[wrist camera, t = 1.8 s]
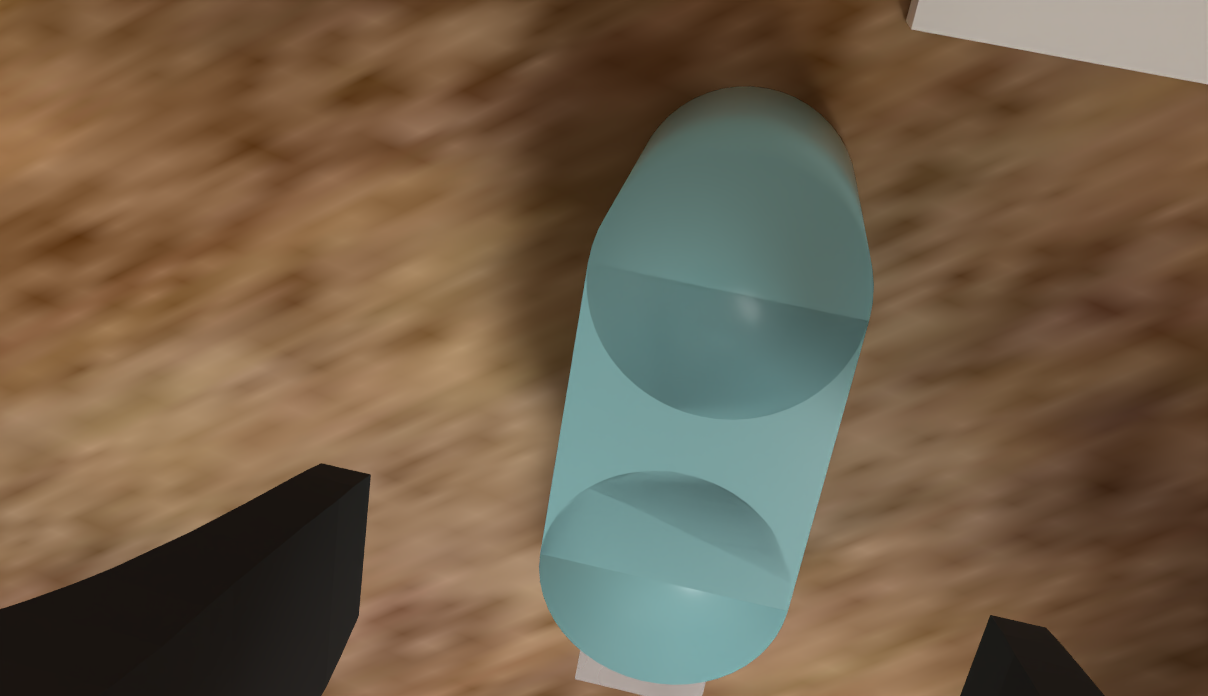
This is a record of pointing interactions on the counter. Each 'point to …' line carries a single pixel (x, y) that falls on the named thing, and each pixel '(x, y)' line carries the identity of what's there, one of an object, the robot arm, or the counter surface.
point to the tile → (1082, 30)
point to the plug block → (705, 392)
